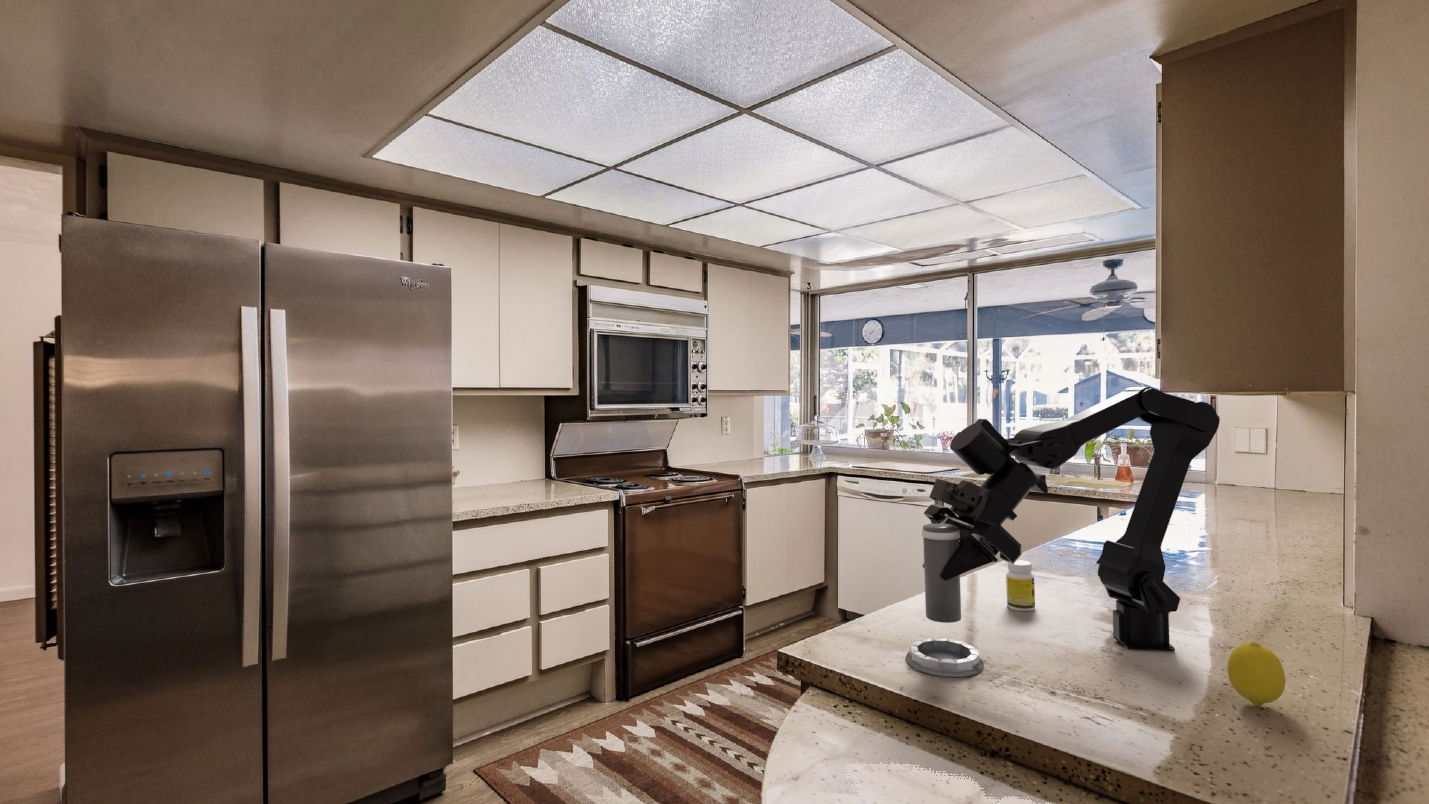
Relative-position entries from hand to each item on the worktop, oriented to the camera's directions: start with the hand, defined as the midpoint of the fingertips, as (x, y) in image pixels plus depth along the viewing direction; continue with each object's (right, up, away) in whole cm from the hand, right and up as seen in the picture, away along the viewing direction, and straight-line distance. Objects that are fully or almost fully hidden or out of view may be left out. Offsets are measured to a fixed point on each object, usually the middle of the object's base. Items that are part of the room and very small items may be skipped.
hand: (933, 573), depth 97 cm
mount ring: (+2, -13, 0) cm, 13 cm away
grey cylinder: (+2, -7, 0) cm, 7 cm away
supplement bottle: (+24, -13, +23) cm, 36 cm away
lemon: (+35, -13, -16) cm, 40 cm away
